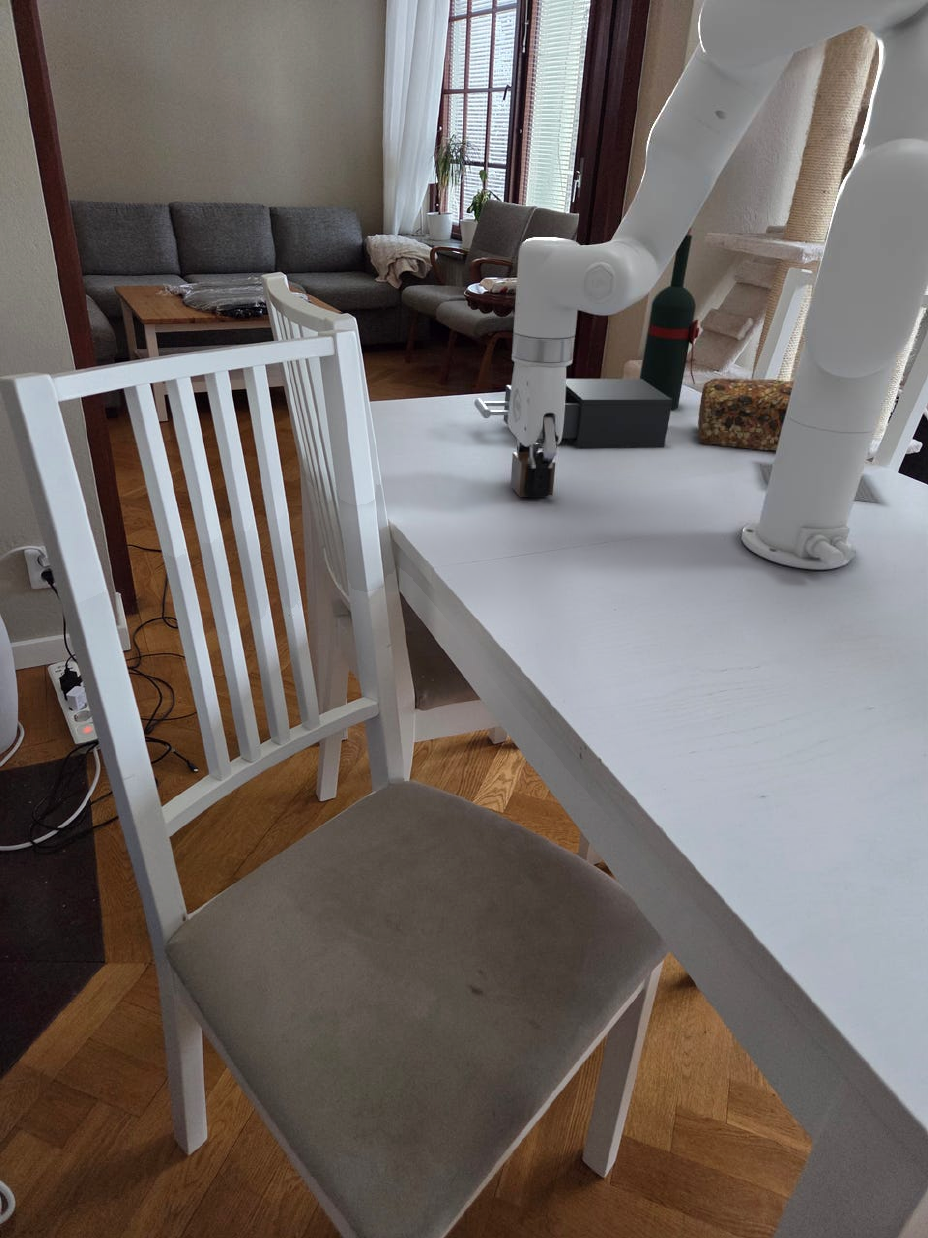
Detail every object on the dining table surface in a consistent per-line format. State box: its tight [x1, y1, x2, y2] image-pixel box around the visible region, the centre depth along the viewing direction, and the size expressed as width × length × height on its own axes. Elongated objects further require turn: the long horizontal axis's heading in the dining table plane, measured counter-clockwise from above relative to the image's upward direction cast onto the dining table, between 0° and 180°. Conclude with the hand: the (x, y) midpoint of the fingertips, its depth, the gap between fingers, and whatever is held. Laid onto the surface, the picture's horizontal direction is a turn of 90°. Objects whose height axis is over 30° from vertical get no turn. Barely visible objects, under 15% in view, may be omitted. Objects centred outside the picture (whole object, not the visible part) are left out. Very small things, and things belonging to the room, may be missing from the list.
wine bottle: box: [638, 226, 700, 411], centre depth 145 cm, size 8×10×30 cm
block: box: [510, 450, 557, 498], centre depth 109 cm, size 5×5×5 cm
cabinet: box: [566, 378, 672, 449], centre depth 133 cm, size 15×13×8 cm
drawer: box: [473, 384, 581, 439], centre depth 131 cm, size 19×11×6 cm, turn 101°
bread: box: [697, 377, 794, 452], centre depth 134 cm, size 19×11×10 cm, turn 77°
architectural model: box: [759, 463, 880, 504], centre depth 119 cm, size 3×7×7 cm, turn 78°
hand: (531, 487), depth 110 cm, fingers closed on block, 4 cm apart
